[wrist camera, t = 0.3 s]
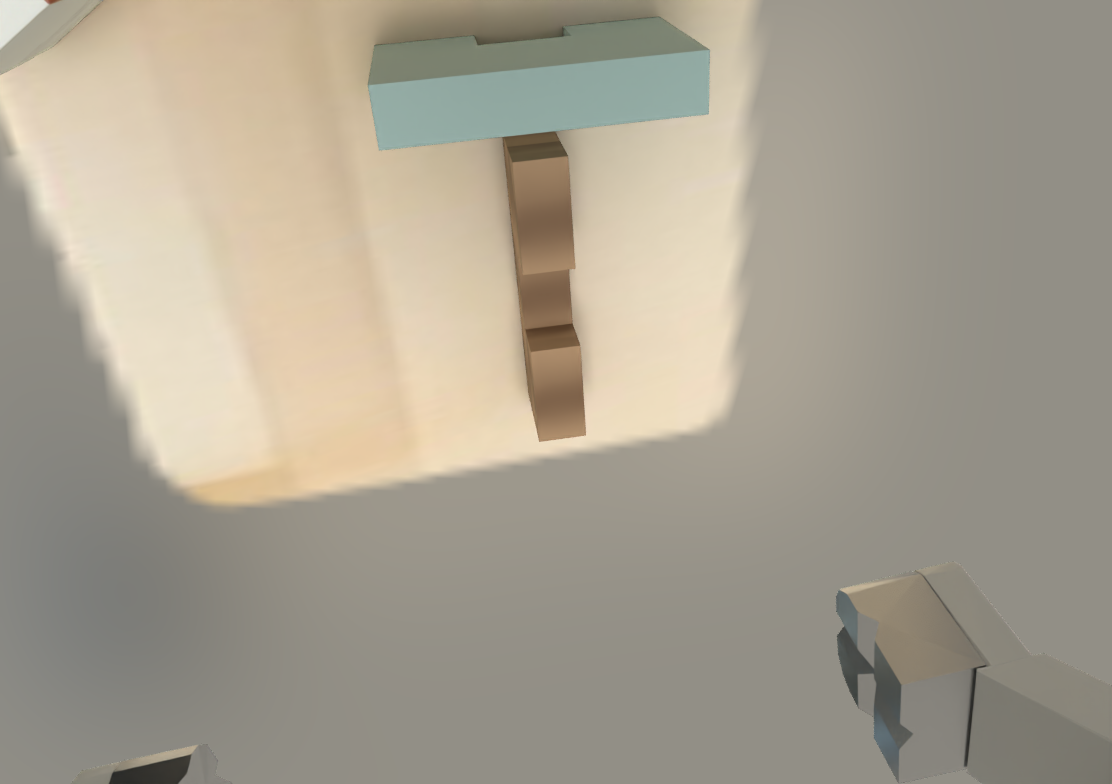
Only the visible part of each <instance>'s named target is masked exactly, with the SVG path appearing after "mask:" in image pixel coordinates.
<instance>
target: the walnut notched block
mask: <svg viewBox="0 0 1112 784" xmlns="http://www.w3.org/2000/svg"><path fill="white" fill-rule="evenodd" d="M503 147H504V157H505V167H506V177H507V186H508V196H509V206H510V216H511V226H512V236H513V246H514V255H515V265H516V275H517V285H518V295H519V305H520V314H521V324H522V334H523V344H524V354H525V364H526V373H527V383H528V393H529V398H530V402H531V407H532V411H533V416H534V420H535V424H536V429H537V433H538V438H539V442H541V441H549V440H556V439H563V438H570V437H577V436H584V435H586V427H585V412H584V396H583V381H582V365H581V350H580V344H579V341H578V338H577V335H576V332H575V329H574V327H573V324H572V310H571V296H570V281H569V269H575V257H574V241H573V226H572V211H571V195H570V180H569V164H568V155H567V153H566V152H565V150H564V148H563V146H562V144H561V142H560V140H559V138H558V137H557V135H556V133H555V131H552V132H543V133H534V134H525V135H515V136H506V137H503Z"/></svg>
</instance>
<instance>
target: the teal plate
mask: <svg viewBox="0 0 1112 784" xmlns="http://www.w3.org/2000/svg"><path fill="white" fill-rule="evenodd" d="M563 34H564V37H554V38H544V39H534V40H524V41H514V42H505V43H495V44H485V45H477V42H476V39H475V37H474V35H473V36H463V37H453V38H443V39H433V40H423V41H413V42H403V43H394V44H384V45H374V51H373V57H372V63H371V69H370V75H369V81H368V89H369V95H370V101H371V106H372V112H373V118H374V124H375V129H376V135H377V141H378V147H379V150H389V149H398V148H407V147H416V146H425V145H434V144H443V143H452V142H461V141H470V140H479V139H488V138H497V137H506V136H515V135H525V134H534V133H543V132H552V131H561V130H570V129H579V128H588V127H597V126H606V125H615V124H624V123H633V122H642V121H651V120H661V119H670V118H679V117H688V116H697V115H706V114H709V64H710V50H709V49H708V48H706V47H705V46H703V45H702V44H700V43H699V42H697V41H696V40H694V39H693V38H691V37H689V36H688V35H686V34H685V33H683V32H682V31H680V30H679V29H677V28H676V27H674V26H673V25H671V24H670V23H668V22H666V21H665V20H663V19H662V18H660V17H652V18H642V19H632V20H622V21H612V22H602V23H592V24H582V25H573V26H563Z"/></svg>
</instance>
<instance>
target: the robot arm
mask: <svg viewBox="0 0 1112 784" xmlns="http://www.w3.org/2000/svg"><path fill="white" fill-rule="evenodd" d="M836 612H837V613H838V615H839V617H840V619H841V620H842V622H843V624H844V627H843V628H842V630H841V631H840V632H839V634H838V635H837V645H838V656H839V660H840V664H841V668H842V672H843V675H844V678H845V681H846V683H847V686H848V688H849V691H850V693H851V695H852V697H853V699H854V701H855V703H856V705H857V707H858V708H859V709H860V710H862V711H864V712H865V713H867V714H869V715H871V716H872V717H874V739H875V741H876V742H877V745H878V746H879V748H880V750H881V752H882V754H883V756H884V758H885V759H886V761H887V763H888V765H889V767H890V769H891V771H892V772H893V774H894V776H895V778H896V780H897V782H898V783H899V784H900V783H905V782H910V781H914V780H919V779H923V778H928V777H933V776H937V775H942V774H946V773H951V772H956V771H960V770H964V769H967V773H968V774H969V775H971V776H972V777H973V778H975V779H976V780H978V781H979V782H980V783H982V784H1112V685H1110V684H1107V683H1105V682H1103V681H1101V680H1099V679H1097V678H1095V677H1093V676H1091V675H1089V674H1087V673H1085V672H1083V671H1081V670H1078V669H1076V668H1074V667H1072V666H1070V665H1068V664H1066V663H1064V662H1062V661H1060V660H1058V659H1056V658H1054V657H1051V656H1049V655H1047V654H1045V653H1042V654H1037V655H1032V654H1031V653H1030V652H1029V651H1028V649H1027V648H1026V647H1025V645H1024V644H1023V643H1022V642H1021V640H1020V639H1019V638H1018V637H1017V635H1016V634H1015V633H1014V632H1013V630H1012V629H1011V628H1010V627H1009V625H1008V624H1007V623H1006V621H1005V620H1004V619H1003V618H1002V616H1001V615H1000V614H999V613H998V611H997V610H996V609H995V607H994V606H993V605H992V604H991V602H990V601H989V600H988V599H987V597H986V596H985V595H984V594H983V592H982V591H981V590H980V588H979V587H978V586H977V585H976V583H975V582H974V581H973V580H972V578H971V577H970V576H969V575H968V573H966V571H965V570H964V568H963V567H962V566H961V565H959V564H958V563H956V562H954V561H952V562H948V563H944V564H940V565H935V566H931V567H928V568H923V569H920V570H915V571H914V572H912V571H909V572H905V573H901V574H898V575H894V576H890V577H886V578H882V579H878V580H874V581H870V582H866V583H862V584H858V585H854V586H850V587H847V588H842V589H839V590H838V593H837V596H836ZM217 764H218V759H217V758H216V756H215V755H214V753H213V752H212V750H211V749H210V748H209V746H208V745H207V744H203V745H195V746H190V747H186V748H181V749H177V750H171V751H167V752H162V753H158V754H153V755H149V756H143V757H139V758H134V759H129V760H125V761H121V762H118V763H113V764H109V765H104V766H100V767H95V768H91V769H86V770H82V771H81V772H80V773H79V774H78V775H77V777H76V778H75V779H74V780H73V781H72V783H71V784H232V782H230V781H227V780H225V779H223V778H221V777H218V776H216V775H215V774H216V769H217Z"/></svg>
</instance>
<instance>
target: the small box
mask: <svg viewBox="0 0 1112 784" xmlns="http://www.w3.org/2000/svg"><path fill="white" fill-rule="evenodd" d="M102 1H103V0H0V75H1V74H3V73H5V72H7V71H9V70H11V69H13V68H15V67H17V66H19V65H21V64H23V63H25V62H27V61H29V60H30V59H32V58H34V57H35V56H37V55H39V54H41V53H42V52H44V51H46V50H48V49H49V48H51V47H53V46H54V45H55V44H56V43H57V42H58V41H59V40H61V39H62V38H63V37H64V36H65V35H66V34H67V33H68V32H69V31H70V30H71V29H73V28H74V27H75V26H76V25H77V24H78V23H79V22H80V21H81V20H82V19H83V18H85V17H86V16H87V15H88V14H89V13H90V12H91V11H92V10H93V9H94V8H95V7H97V6H98V5H99V4H100V3H101V2H102Z"/></svg>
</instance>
